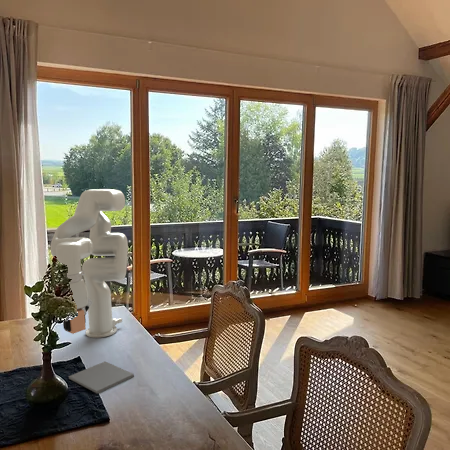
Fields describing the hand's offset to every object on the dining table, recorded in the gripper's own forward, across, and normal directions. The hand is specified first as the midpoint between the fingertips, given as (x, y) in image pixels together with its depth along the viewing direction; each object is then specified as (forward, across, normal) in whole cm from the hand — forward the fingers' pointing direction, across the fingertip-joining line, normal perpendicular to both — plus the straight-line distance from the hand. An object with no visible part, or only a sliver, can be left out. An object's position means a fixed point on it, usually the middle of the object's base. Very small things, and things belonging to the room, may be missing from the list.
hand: (75, 327), depth 158 cm
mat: (+13, +2, +17) cm, 21 cm away
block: (+1, 0, 0) cm, 1 cm away
